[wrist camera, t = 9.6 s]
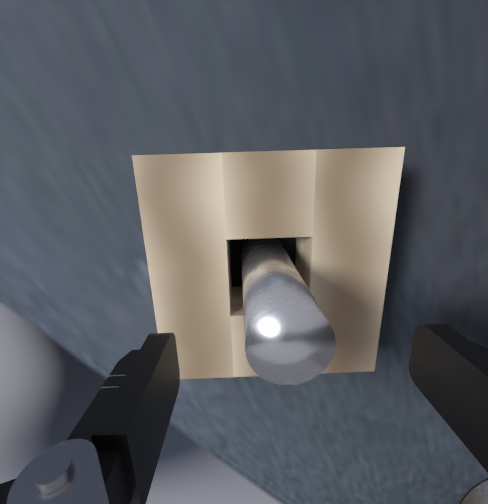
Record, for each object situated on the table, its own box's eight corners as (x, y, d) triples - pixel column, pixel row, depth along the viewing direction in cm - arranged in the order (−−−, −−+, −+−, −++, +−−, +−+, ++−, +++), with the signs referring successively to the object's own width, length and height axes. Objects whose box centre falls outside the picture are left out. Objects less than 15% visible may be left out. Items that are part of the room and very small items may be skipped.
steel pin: (284, 233, 18) (339, 305, 8) (284, 275, 19) (332, 383, 9) (240, 235, 18) (243, 309, 8) (242, 276, 19) (246, 386, 9)
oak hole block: (366, 152, 16) (405, 147, 13) (348, 333, 20) (374, 371, 16) (156, 159, 16) (131, 155, 12) (178, 340, 20) (164, 379, 16)
